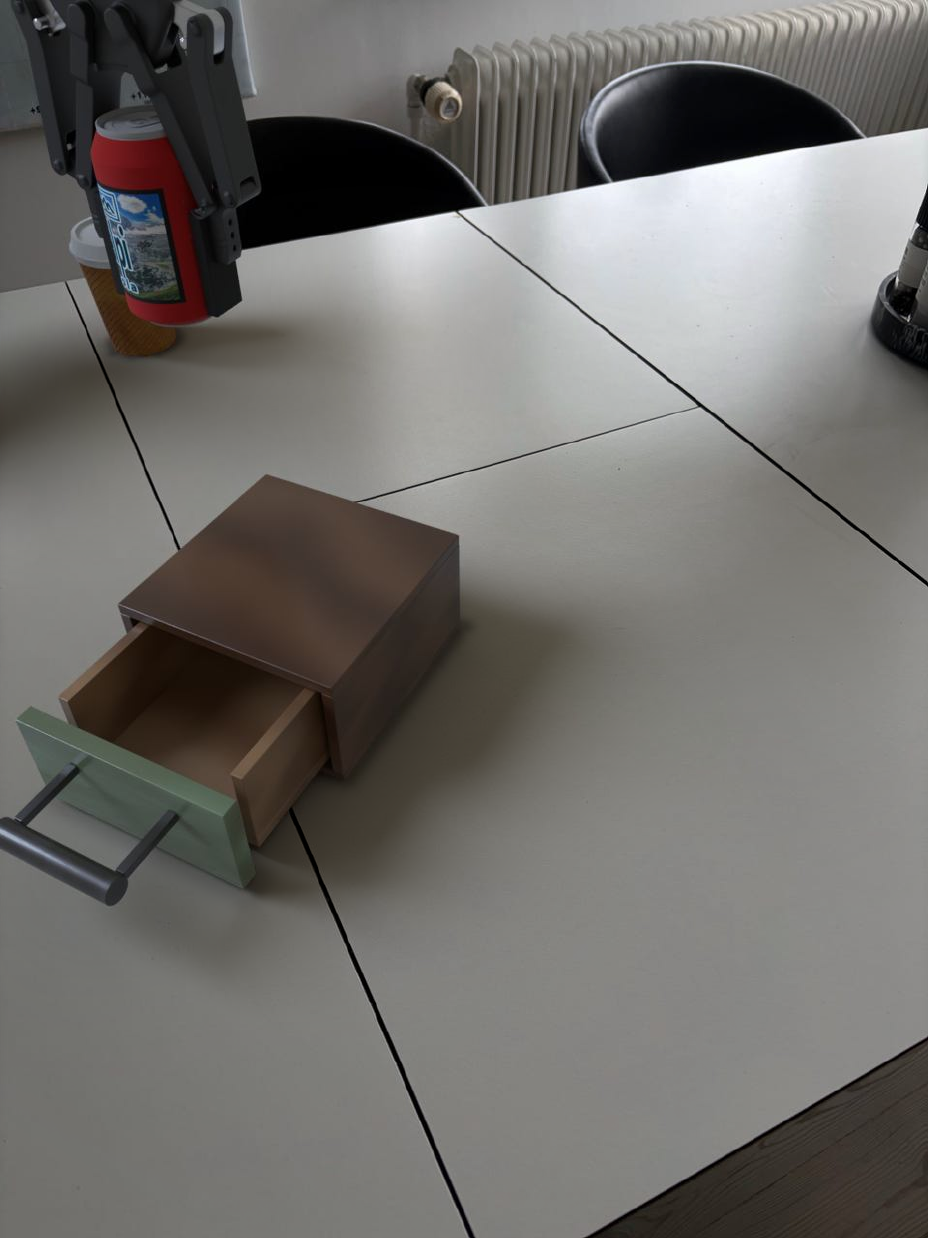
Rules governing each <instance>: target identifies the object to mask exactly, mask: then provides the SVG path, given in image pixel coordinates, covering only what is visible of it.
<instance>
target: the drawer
mask: <svg viewBox="0 0 928 1238" xmlns="http://www.w3.org/2000/svg"><path fill="white" fill-rule="evenodd" d="M321 694H322V693H320V692H317V691H315V690H312V689H310V688H307V687H305V686H302V685H300V684H297V683H295V682H292V681H290V680H287V679H285V678H282V677H280V676H277V675H275V674H272V673H269V672H267V671H264V670H262V669H259V668H257V667H254V666H252V665H249V664H247V663H244V662H242V661H239V660H237V659H234V658H232V657H229V656H227V655H224V654H222V653H219V652H217V651H214V650H212V649H209V648H207V647H204V646H202V645H199V644H197V643H194V642H192V641H189V640H187V639H184V638H181V637H179V636H176V635H174V634H171V633H169V632H166V631H164V630H161V629H159V628H156V627H154V626H151V625H149V624H146V623H144V622H141V621H140V622H139V623H138V624H137V625H136V626H135V627H134V628H132V629H131V630H130V631H129V632H128V633H126V634H125V635H124V636H123V637H121V638H120V639H119V640H118V641H117V642H116V643H114V645H112V646H111V647H110V648H109V649H108V650H107V651H106V652H105V653H104V654H103V655H102V656H101V657H99V658H98V659H97V661H95V662H94V663H93V664H92V665H91V666H89V667H88V668H87V670H85V671H84V672H83V673H82V674H81V675H79V676H78V678H76V679H75V680H74V681H73V682H72V683H71V684H70V685H69V686H67V688H65V689H64V690H63V691H62V692H61V693H60V694H59V695H58V696H57V700H58V701H59V704H60V707H61V709H62V711H63V714H64V717H65V718H66V721H64V720H63V719H61V718H57V717H56V716H53V715H51V714H49V713H46V712H44V711H42V710H41V709H38V708H36V707H33V706H31V705H30V706H29V707H28V708H26V709H25V710H24V711H23V712H22V713H21V714H19V716H18V717H16V718H15V720H14V721H15V723H16V725H17V727H18V729H19V732H20V733H21V736H22V738H23V740H24V742H25V744H26V746H27V749H28V751H29V753H30V755H31V757H32V760H33V761H34V764H35V766H36V768H37V770H38V773H39V775H40V776H41V779H42V781H43V783H44V785H45V786H44V787H43V788H41V790H40V791H39V792H38V793H37V794H35V796H34V797H33V798H32V799H31V800H30V801H29V802H28V803H27V804H26V805H25V806H24V807H23V808H22V809H20V810H19V812H18V813H17V814H16V815H14V817H10V816H3V817H0V850H1V851H3V852H4V853H7V854H9V855H11V856H12V857H15V859H18V860H20V861H22V862H24V863H26V864H27V865H30V866H31V867H33V868H35V869H37V870H39V871H41V872H43V873H45V874H46V875H48V876H50V877H52V878H54V879H56V880H58V881H60V882H62V883H63V884H65V885H68V886H69V887H71V888H73V889H74V890H77V891H78V892H81V893H82V894H85V895H86V896H88V897H90V898H91V899H94V900H96V901H98V902H100V903H101V904H103V905H105V906H107V907H113V906H116V905H117V904H118V903H119V902H121V901H122V899H123V898H124V896H125V895H126V893H127V890H128V887H129V878H130V877H131V876H132V875H133V873H134V872H135V871H136V870H137V869H138V867H139V866H140V865H141V864H142V863H143V862H144V861H145V859H147V857H148V856H149V855H150V854H151V853H152V851H153V850H154V849H155V848H159V849H160V850H162V851H164V852H167V853H169V854H171V855H173V856H174V857H177V858H178V859H180V860H182V861H185V862H186V863H189V864H191V865H193V866H195V867H197V868H199V869H201V870H203V871H205V872H207V873H209V874H212V875H213V876H215V877H218V878H219V879H221V880H223V881H226V882H228V883H229V884H231V885H234V886H236V887H237V888H240V889H241V890H244V889H245V888H246V887H247V886H248V885H249V883H250V882H251V881H252V879H253V878H254V877H255V875H256V874H257V872H256V868H255V863H254V860H253V857H252V852H251V849H250V845H253V846H255V847H257V848H260V847H261V846H262V844H263V843H264V842H265V841H266V839H267V838H268V837H269V836H270V834H271V833H272V832H273V830H275V828H276V826H278V824H279V823H280V821H281V820H282V819H283V818H284V816H285V815H286V814H287V813H288V811H289V810H290V809H291V808H292V806H293V805H294V803H296V801H297V800H298V799H299V798H300V796H301V795H302V793H303V792H304V791H305V789H306V788H307V787H308V785H310V784H311V782H312V781H313V779H314V778H315V777H316V776H317V774H318V773H319V771H321V770H320V769H321V768H322V766H323V765H324V764H325V763H326V761H327V760H328V759H329V757H330V756H331V755H330V748H329V741H328V735H327V728H326V721H325V715H324V708H323V701H322V695H321ZM55 798H57V799H59V800H61V801H63V802H65V803H67V804H68V805H71V806H73V807H75V808H77V809H79V810H81V811H83V812H85V813H87V814H89V815H91V816H93V817H95V818H97V819H99V820H102V821H103V822H105V823H108V824H110V825H112V826H114V827H115V828H118V829H119V830H122V831H124V832H126V833H127V834H130V835H132V836H134V837H135V838H138V839H140V841H139V842H137V844H136V845H135V846H134V848H133V849H132V850H131V851H129V853H128V854H127V855H126V856H125V858H124V859H123V860H121V862H120V863H119V864H118V866H116V868H115V870H114V869H112V868H110V867H108V866H106V865H104V864H102V863H100V862H99V861H96V860H95V859H92V858H90V857H89V856H86V855H85V854H82V853H80V852H78V851H77V850H75V849H73V848H71V847H68V846H67V845H65V844H63V843H61V842H59V841H58V840H55V839H53V838H51V837H49V836H47V835H45V834H43V833H42V832H39V831H38V830H36V829H34V828H32V827H29V826H28V825H29V824H30V823H31V822H33V820H34V819H35V818H36V817H37V816H38V815H39V814H40V813H41V812H42V811H43V810H44V809H45V808H46V807H47V806H48V805H49V804H50V803H51V802H52V801H53V800H54V799H55ZM249 844H250V845H249Z"/></svg>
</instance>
